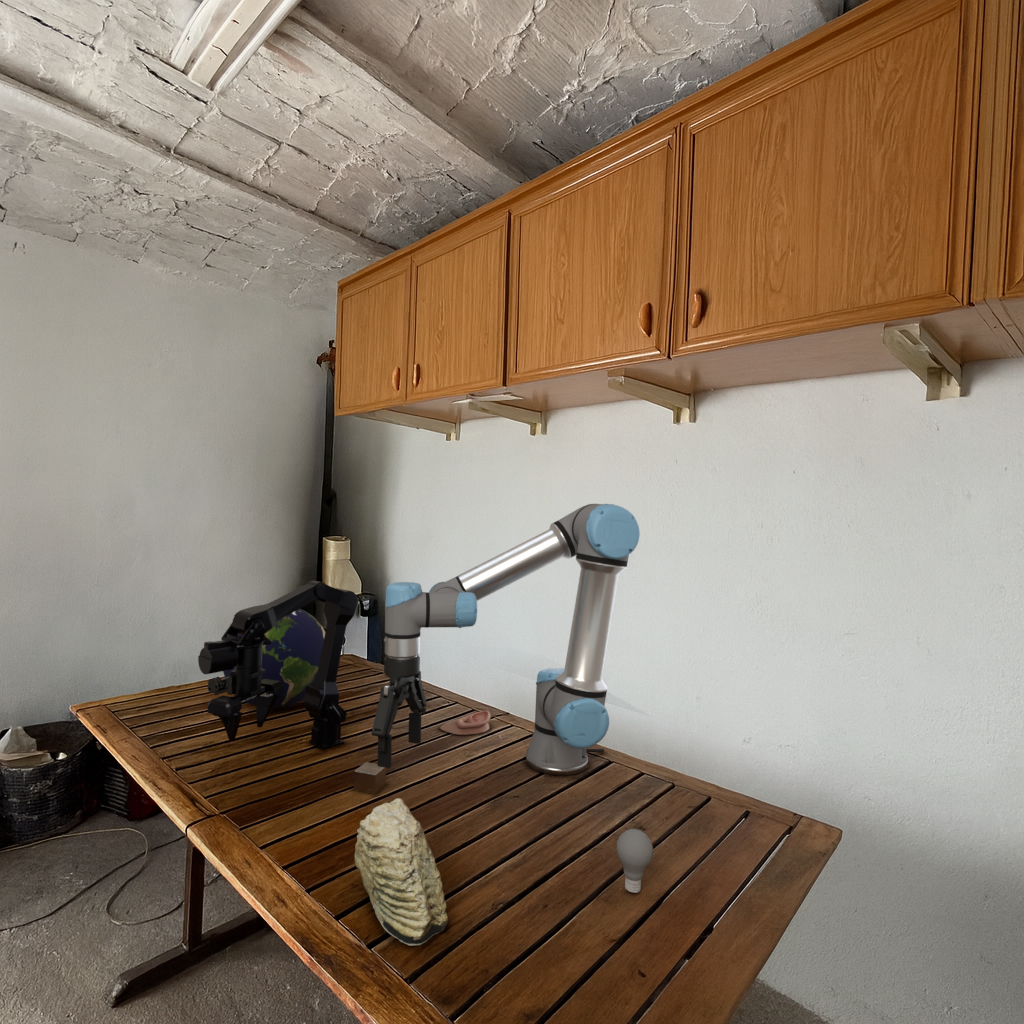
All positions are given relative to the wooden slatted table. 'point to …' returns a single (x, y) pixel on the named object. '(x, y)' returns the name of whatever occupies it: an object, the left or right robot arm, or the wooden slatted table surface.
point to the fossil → (400, 874)
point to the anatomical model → (468, 724)
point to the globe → (292, 655)
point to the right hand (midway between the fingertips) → (400, 754)
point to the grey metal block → (369, 778)
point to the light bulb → (634, 857)
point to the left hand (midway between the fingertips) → (246, 733)
